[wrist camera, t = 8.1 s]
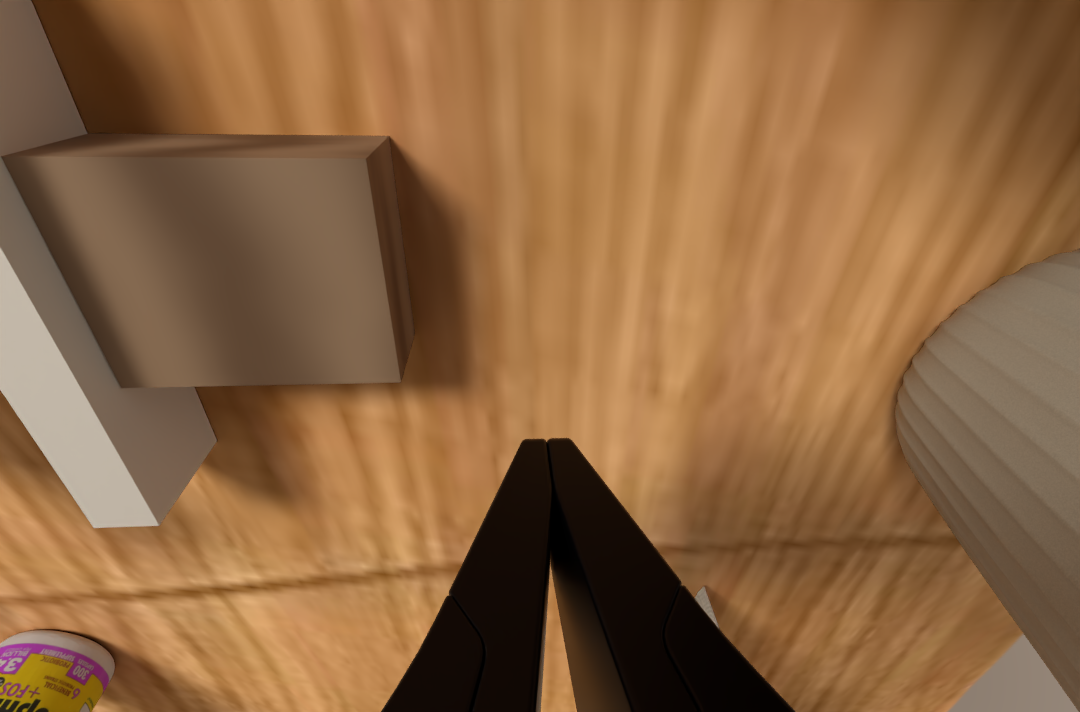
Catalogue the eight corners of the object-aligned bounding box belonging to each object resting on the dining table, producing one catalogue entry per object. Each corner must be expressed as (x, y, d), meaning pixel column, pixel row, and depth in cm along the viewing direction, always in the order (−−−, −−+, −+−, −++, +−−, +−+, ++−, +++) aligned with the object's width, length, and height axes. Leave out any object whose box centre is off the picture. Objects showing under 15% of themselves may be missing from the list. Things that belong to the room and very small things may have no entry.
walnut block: (391, 133, 18) (365, 158, 15) (416, 329, 23) (400, 382, 19) (95, 131, 18) (0, 156, 14) (179, 332, 22) (121, 388, 19)
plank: (-16, -111, 14) (-236, -167, 10) (217, 441, 25) (159, 525, 21) (-115, -114, 14) (-381, -174, 10) (163, 442, 25) (93, 527, 21)
